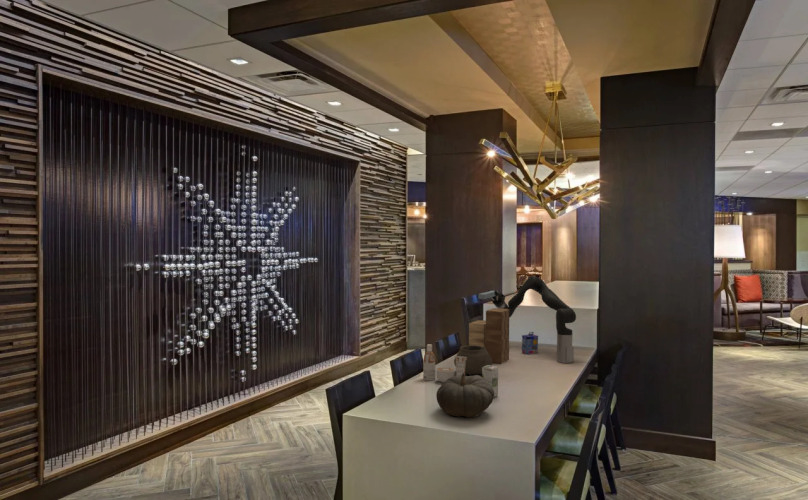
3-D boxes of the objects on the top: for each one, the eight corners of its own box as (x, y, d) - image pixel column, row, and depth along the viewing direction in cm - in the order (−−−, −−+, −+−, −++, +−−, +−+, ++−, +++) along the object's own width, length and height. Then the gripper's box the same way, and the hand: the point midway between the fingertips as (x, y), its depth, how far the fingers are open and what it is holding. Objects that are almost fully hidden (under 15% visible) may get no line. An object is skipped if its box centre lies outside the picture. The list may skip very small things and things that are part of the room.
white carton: (487, 394, 264) (487, 364, 264) (498, 396, 260) (498, 366, 260) (481, 396, 260) (481, 366, 259) (492, 399, 256) (492, 368, 256)
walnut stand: (493, 357, 349) (494, 308, 349) (508, 359, 345) (509, 309, 344) (485, 362, 335) (485, 310, 335) (501, 364, 331) (501, 311, 330)
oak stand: (478, 352, 365) (479, 320, 365) (492, 354, 361) (493, 321, 360) (468, 357, 349) (469, 323, 349) (483, 359, 345) (483, 324, 344)
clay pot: (491, 379, 293) (491, 352, 293) (451, 377, 297) (452, 350, 297) (492, 370, 314) (492, 344, 314) (456, 368, 318) (456, 343, 318)
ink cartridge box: (526, 354, 360) (526, 332, 360) (521, 353, 365) (521, 331, 365) (538, 353, 364) (538, 332, 364) (533, 351, 369) (533, 330, 369)
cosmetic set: (470, 382, 286) (470, 347, 285) (463, 386, 278) (463, 350, 277) (427, 376, 298) (428, 342, 298) (420, 380, 290) (420, 345, 290)
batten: (492, 295, 371) (492, 290, 371) (497, 295, 369) (497, 290, 369) (478, 298, 349) (478, 294, 349) (484, 299, 347) (484, 294, 347)
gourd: (494, 398, 246) (490, 363, 244) (498, 426, 222) (494, 386, 219) (439, 402, 249) (435, 367, 246) (437, 429, 225) (433, 390, 222)
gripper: (490, 296, 383) (482, 286, 370) (509, 297, 376) (502, 287, 363) (488, 306, 380) (480, 296, 367) (507, 307, 373) (501, 297, 360)
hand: (491, 291), depth 365 cm, fingers closed on batten, 4 cm apart
